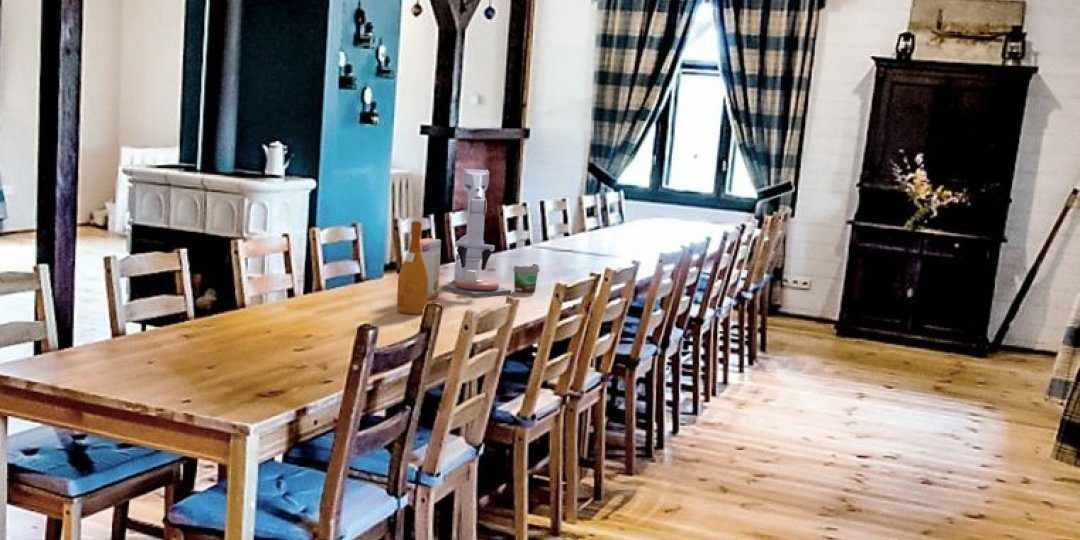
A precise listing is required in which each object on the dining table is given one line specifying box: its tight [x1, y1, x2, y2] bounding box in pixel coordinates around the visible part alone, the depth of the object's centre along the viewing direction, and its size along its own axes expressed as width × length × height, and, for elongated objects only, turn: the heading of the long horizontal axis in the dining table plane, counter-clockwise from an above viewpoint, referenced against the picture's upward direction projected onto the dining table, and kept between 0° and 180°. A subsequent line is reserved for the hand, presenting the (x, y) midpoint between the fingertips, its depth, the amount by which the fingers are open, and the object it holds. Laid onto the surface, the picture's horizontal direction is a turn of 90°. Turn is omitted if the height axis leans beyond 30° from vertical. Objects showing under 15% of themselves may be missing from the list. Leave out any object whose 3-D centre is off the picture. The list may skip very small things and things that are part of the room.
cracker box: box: [408, 237, 442, 301], centre depth 381 cm, size 14×6×21 cm, turn 158°
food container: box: [513, 263, 541, 294], centre depth 413 cm, size 12×6×10 cm, turn 143°
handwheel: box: [455, 270, 500, 290], centre depth 405 cm, size 16×16×6 cm
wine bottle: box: [396, 220, 428, 315], centre depth 356 cm, size 10×10×30 cm
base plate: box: [442, 283, 512, 299], centre depth 406 cm, size 18×18×2 cm
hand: (473, 268), depth 399 cm, fingers open, 7 cm apart
